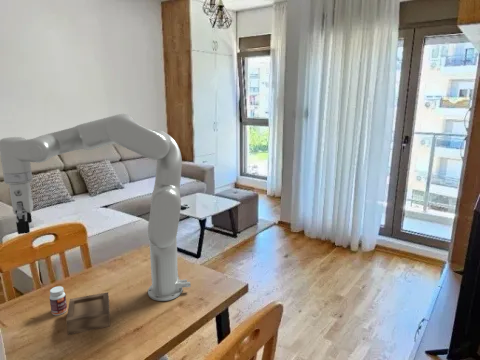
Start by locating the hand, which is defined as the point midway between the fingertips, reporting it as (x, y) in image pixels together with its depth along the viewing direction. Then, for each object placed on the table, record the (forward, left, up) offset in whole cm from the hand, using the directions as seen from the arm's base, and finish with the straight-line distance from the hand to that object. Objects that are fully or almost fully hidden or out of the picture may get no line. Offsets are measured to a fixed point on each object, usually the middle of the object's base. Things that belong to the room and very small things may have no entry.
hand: (25, 227), depth 113 cm
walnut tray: (-20, +11, -29) cm, 37 cm away
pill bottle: (-9, +5, -29) cm, 31 cm away
